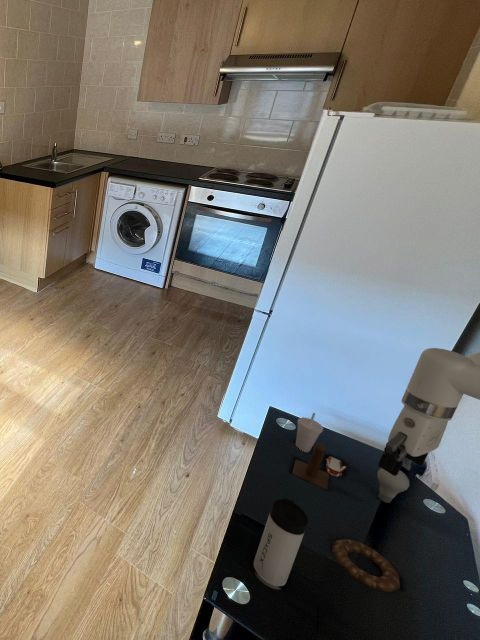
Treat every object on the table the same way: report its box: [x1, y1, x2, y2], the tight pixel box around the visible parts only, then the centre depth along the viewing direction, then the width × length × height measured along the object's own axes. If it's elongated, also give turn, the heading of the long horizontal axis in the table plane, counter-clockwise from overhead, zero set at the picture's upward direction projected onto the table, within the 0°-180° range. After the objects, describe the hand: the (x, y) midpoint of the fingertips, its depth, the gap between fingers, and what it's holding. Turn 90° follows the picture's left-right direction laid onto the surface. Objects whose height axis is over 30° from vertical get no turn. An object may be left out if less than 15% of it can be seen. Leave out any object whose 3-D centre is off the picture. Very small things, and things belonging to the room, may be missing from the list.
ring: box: [331, 538, 401, 593], centre depth 95 cm, size 12×12×3 cm
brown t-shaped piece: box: [291, 443, 330, 491], centre depth 120 cm, size 8×8×11 cm
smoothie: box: [295, 412, 324, 453], centre depth 130 cm, size 6×6×14 cm
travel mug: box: [253, 497, 309, 591], centre depth 91 cm, size 6×7×20 cm
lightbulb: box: [377, 467, 410, 504], centre depth 112 cm, size 6×6×11 cm
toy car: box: [324, 455, 348, 478], centre depth 124 cm, size 5×8×3 cm, turn 134°
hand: (400, 465), depth 93 cm, fingers open, 9 cm apart
